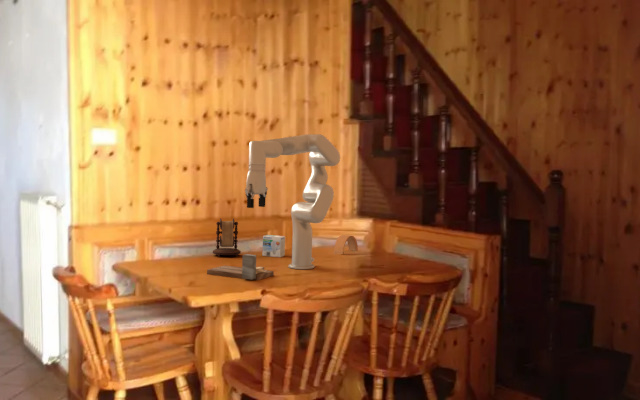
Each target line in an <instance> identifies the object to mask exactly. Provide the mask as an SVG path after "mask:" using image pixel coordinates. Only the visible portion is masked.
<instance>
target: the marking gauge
mask: <svg viewBox="0 0 640 400" xmlns="http://www.w3.org/2000/svg"><path fill="white" fill-rule="evenodd" d="M241 262H242V263H241V265H242V266H241V267H242V278H241V279H243V278H244V279H243V280H251V279H255V278H256V274H257V273H261V272H264V270H265V266H257V254H250V253H249V254H248V253H246V254H242V261H241Z"/></svg>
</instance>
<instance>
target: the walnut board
mask: <svg viewBox="0 0 640 400" xmlns="http://www.w3.org/2000/svg"><path fill="white" fill-rule="evenodd" d="M206 274H207V275H212V276H217V277H219V276H220V277H227V278H228V277H230V278H234V279H235V278H236V279H243V280H245V279H244V278H242V266H241V267H240V266H232V265H221V266H217V267H212V268H208V269H207V270H206ZM274 274H275V273H274V270H267V269H264V272H261V273H257V274H256V278H255V279H250V280H254V281H259V280H262V279H266V278H269V277H274Z"/></svg>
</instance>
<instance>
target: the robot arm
mask: <svg viewBox="0 0 640 400" xmlns="http://www.w3.org/2000/svg"><path fill="white" fill-rule="evenodd" d="M248 145H249V146H248V171H247V175H246V183H245V185H246V186H245V189H244V191H245V196H246V208H247V209H254V207H255V198H254V197H255V195H258V207H260V208H265V207H266V198H267V194H268V190H269V188H268V187H267V181H266V179H267V178H266V171H267V170H266V169H267V168H266V165H267V160H266V159H267V158H268V159H275V158H276V159H277V158H279V157H280V156H293V155H298V154H299V155H300V154H305V153H308V161H309V165H310V169H311V173H310V175H309V178H308V180H307V183H306V185H305V186H304V189H303V191H302V199H303V200H304V201H298V202H295V203H294V204H293V205H292V207H291V209H290V214H291V215H290V216H291V217H290V218H291V221H292V239H291V240H292V243H291V263H289V264H288V268H290V269H296V270H312V269H315V264H313V263H312V262H315V258H314V257H313V256H312V255H313V229H312V226H311V225H312V224H320V223H322V222H323V220H324V219H325V218H326V216H327V214H328V211H329V209H330V208H331V205H332V204H333V203H332V202H333V200H334V197H335V195H334V189H333V187H332V186H331V185H329V184H328V183H327V182H328V178H329V177H328V173H327V172H328V171H327V169H326V167H335V166H337V165H338V164H339V163H340V161H341V155H340V152H339V150H338V149H337V148H336V146H335V145H334V144H333V143H332V142H331V141H330V140H329V139H328V138H327V137H326V136H325V135H323V134H320V133H319V134H316V133H315V134H311V133H310V134H309V133H308V134H300V135H294V136H287V137H286V136H285V137H280V138H270V139H264V140H251V141H250V142H249V144H248Z"/></svg>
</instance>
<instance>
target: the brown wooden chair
mask: <svg viewBox="0 0 640 400" xmlns="http://www.w3.org/2000/svg"><path fill="white" fill-rule="evenodd" d="M238 225H239V223H238V221H235V218H234V217H233V218H232V221H230V220H227V221H226V220H225V221H223V220H222V218H220V219H219V221H216V232H215V233H216V241H215V242H216V247H215V249H214V250H212V254H213V255H217V257H218V258H220V256H235V257H236V258H238V256H239V255H240V254H241V253H242V251H241V250H240V249H239V248H238V240H239V239H238V233H239V230H238V229H239V228H238ZM233 247H234V248H233Z"/></svg>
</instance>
